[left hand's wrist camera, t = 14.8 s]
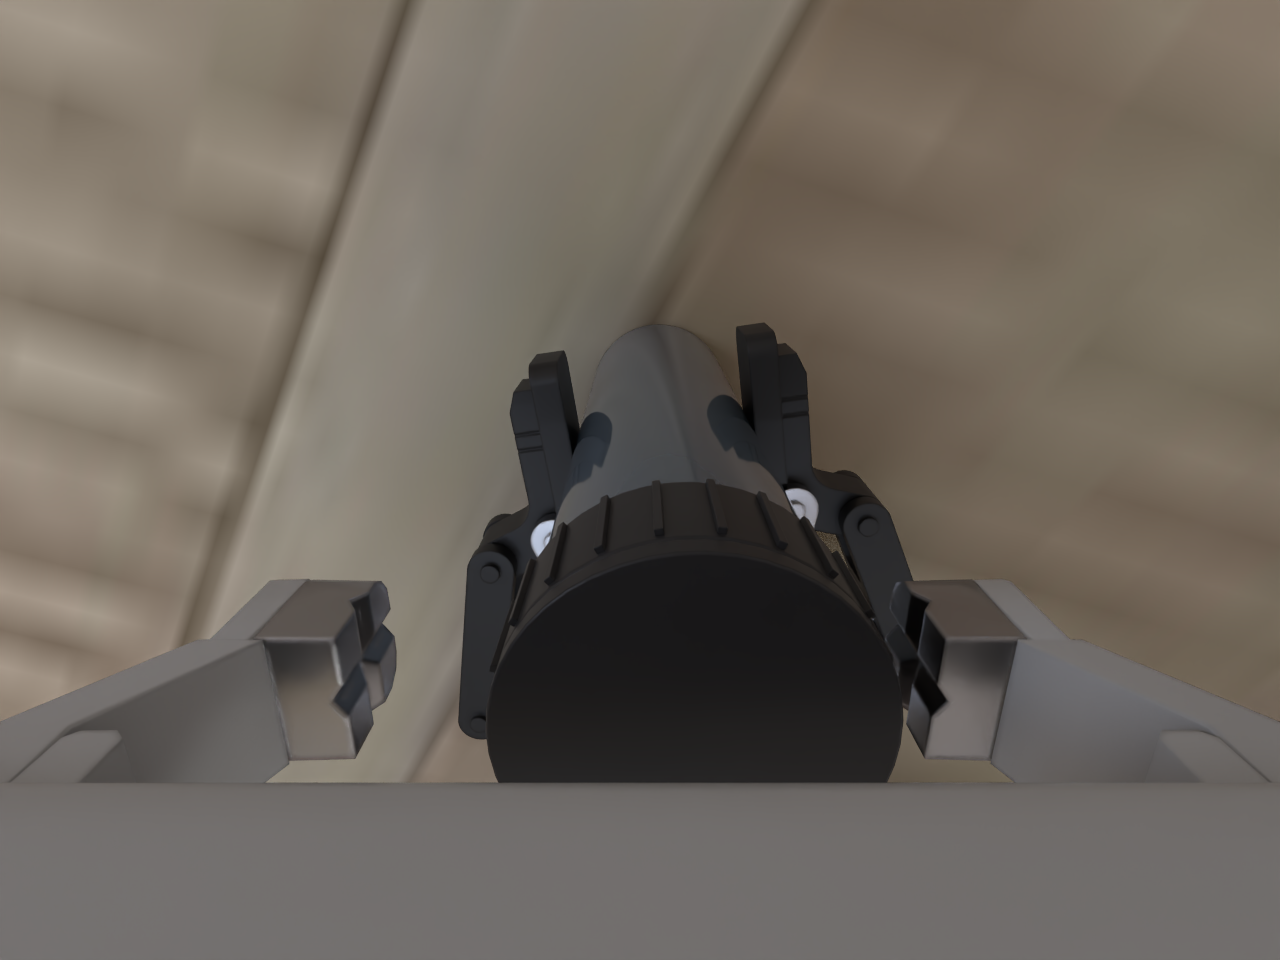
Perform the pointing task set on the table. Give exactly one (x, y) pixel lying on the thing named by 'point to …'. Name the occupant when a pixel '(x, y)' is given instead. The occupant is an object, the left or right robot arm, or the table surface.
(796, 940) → the left robot arm
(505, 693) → the lid
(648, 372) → the dark grey cylinder
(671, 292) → the table surface
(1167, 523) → the table surface
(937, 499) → the table surface
